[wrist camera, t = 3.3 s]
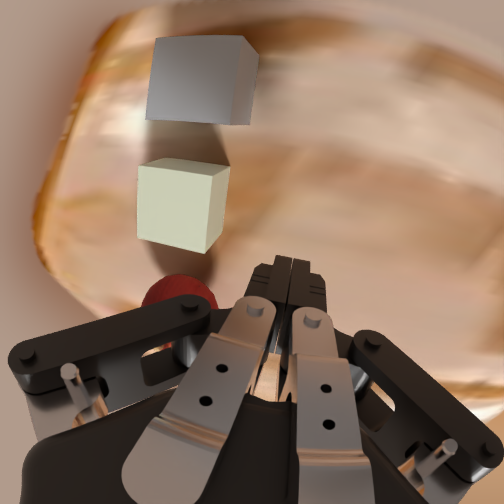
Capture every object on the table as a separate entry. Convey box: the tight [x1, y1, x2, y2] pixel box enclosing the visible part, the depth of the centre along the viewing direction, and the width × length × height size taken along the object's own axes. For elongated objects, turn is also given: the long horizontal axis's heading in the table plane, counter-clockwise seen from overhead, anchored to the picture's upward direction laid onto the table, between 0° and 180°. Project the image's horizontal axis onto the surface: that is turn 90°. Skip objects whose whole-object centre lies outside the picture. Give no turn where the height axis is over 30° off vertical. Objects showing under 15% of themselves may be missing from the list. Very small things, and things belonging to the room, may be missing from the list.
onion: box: [141, 274, 219, 352], centre depth 21 cm, size 6×6×8 cm
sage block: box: [137, 157, 230, 254], centre depth 20 cm, size 5×5×4 cm
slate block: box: [145, 35, 259, 125], centre depth 15 cm, size 5×5×5 cm
